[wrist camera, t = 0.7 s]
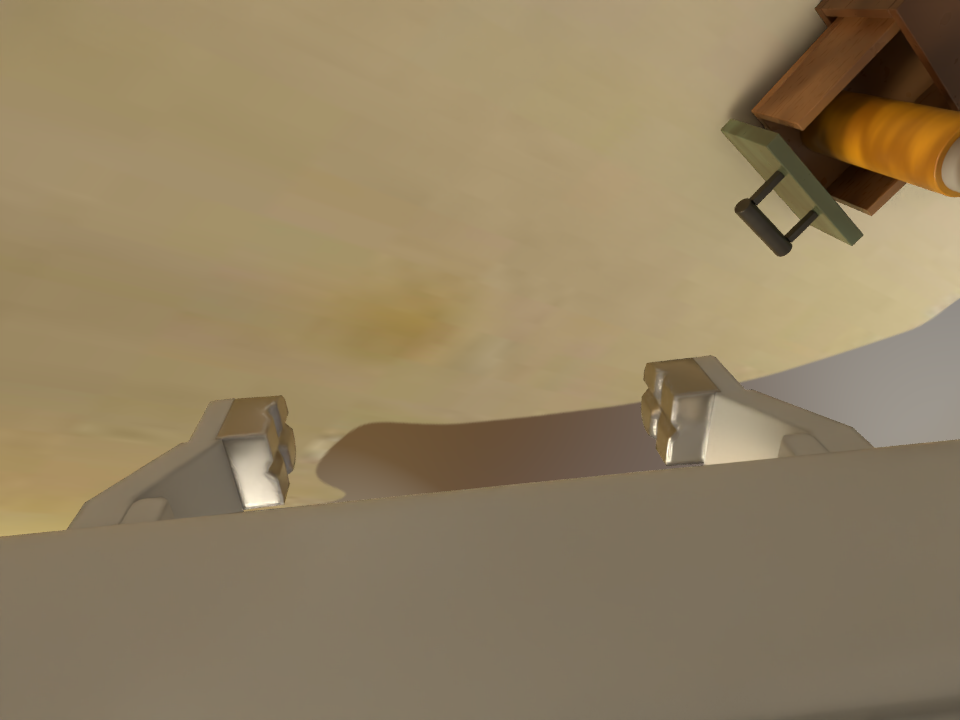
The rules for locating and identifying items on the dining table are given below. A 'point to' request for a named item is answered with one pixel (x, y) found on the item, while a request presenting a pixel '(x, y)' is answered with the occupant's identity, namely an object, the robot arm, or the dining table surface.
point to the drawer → (799, 100)
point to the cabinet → (916, 33)
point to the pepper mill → (891, 139)
